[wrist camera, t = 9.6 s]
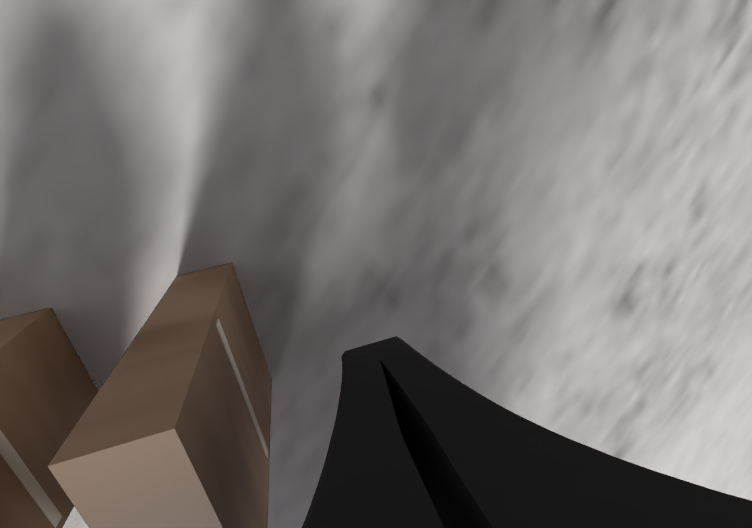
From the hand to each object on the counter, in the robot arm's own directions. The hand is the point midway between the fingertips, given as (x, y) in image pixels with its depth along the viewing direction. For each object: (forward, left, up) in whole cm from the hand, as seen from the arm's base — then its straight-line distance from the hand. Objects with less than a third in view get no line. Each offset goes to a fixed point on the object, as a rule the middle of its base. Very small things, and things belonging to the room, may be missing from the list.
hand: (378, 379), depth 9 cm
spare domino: (0, +4, -4) cm, 6 cm away
